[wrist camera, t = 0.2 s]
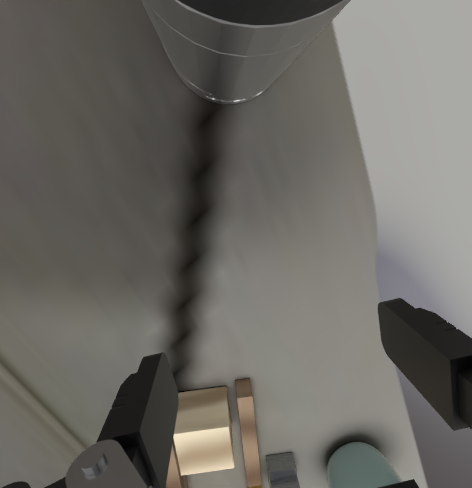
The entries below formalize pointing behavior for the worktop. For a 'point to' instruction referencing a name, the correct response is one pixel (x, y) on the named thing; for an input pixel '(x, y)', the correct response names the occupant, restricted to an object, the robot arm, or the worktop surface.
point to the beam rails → (249, 439)
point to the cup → (360, 467)
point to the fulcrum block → (282, 471)
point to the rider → (203, 431)
